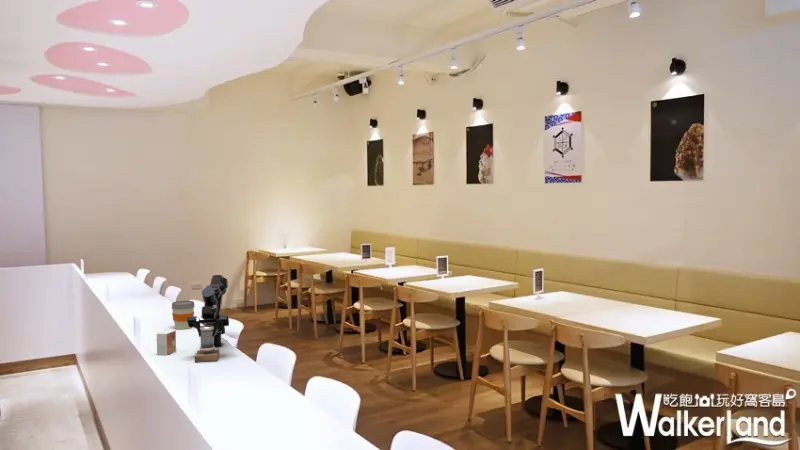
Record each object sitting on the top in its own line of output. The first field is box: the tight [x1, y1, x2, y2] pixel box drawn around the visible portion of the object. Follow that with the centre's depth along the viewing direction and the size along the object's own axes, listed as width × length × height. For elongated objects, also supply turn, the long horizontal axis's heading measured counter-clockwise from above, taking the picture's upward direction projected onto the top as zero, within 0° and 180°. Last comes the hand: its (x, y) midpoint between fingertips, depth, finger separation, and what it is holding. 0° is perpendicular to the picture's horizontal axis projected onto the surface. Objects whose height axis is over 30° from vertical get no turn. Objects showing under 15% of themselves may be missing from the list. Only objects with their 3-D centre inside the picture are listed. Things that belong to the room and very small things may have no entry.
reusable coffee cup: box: [171, 300, 195, 331], centre depth 343 cm, size 13×13×15 cm
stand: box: [194, 349, 220, 363], centre depth 279 cm, size 10×10×3 cm
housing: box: [199, 324, 216, 351], centre depth 279 cm, size 7×7×11 cm
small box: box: [156, 329, 177, 356], centre depth 290 cm, size 8×6×10 cm
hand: (206, 336), depth 278 cm, fingers closed on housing, 6 cm apart
